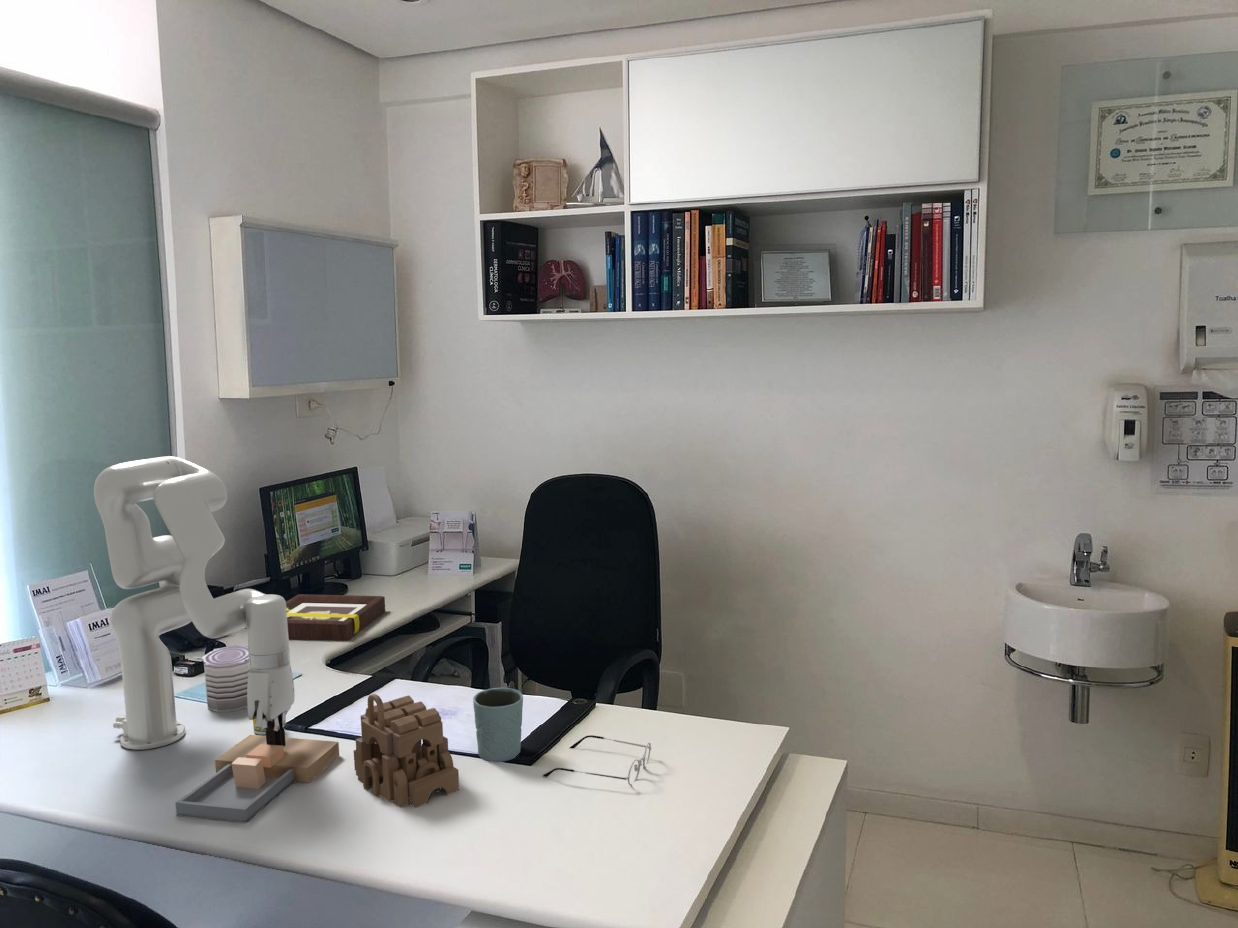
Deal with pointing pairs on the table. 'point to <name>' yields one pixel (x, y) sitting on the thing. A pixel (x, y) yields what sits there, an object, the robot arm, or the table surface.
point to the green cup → (498, 723)
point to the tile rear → (267, 754)
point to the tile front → (248, 773)
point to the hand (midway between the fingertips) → (276, 747)
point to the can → (227, 678)
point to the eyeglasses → (609, 775)
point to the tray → (230, 797)
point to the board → (288, 756)
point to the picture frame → (331, 616)
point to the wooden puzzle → (404, 752)
